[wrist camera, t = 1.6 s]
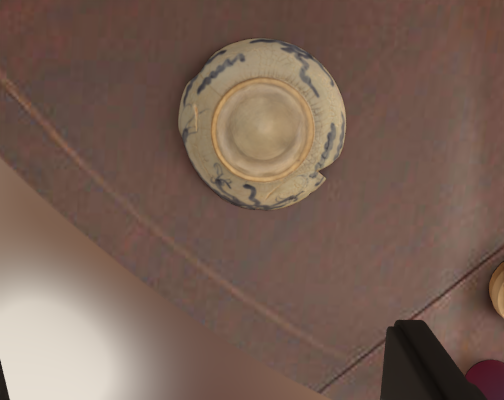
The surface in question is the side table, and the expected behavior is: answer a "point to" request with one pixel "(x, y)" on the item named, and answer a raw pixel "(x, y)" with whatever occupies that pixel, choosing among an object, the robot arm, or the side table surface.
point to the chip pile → (497, 289)
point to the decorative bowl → (262, 123)
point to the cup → (488, 378)
